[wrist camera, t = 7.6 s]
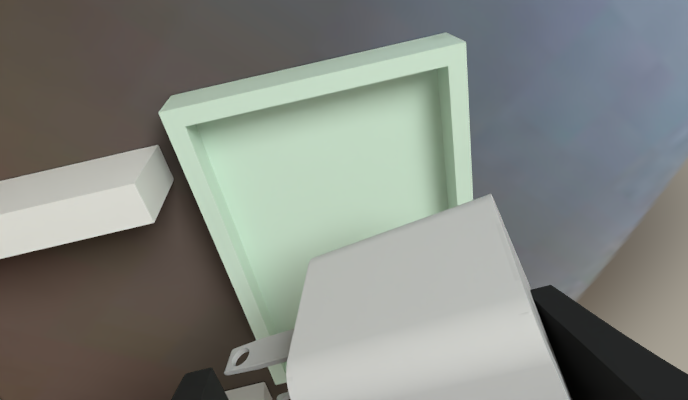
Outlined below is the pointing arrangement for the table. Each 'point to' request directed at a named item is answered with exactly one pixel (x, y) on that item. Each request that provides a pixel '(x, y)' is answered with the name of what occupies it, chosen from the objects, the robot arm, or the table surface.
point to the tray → (322, 162)
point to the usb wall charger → (417, 319)
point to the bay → (89, 209)
